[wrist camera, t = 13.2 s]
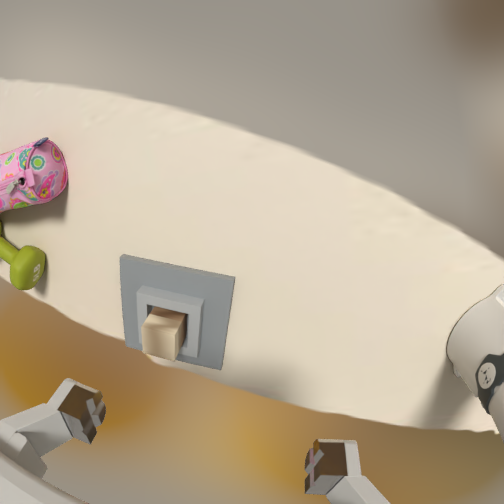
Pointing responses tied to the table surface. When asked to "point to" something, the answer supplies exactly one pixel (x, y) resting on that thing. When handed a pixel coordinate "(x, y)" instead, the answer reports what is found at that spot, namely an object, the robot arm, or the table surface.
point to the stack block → (164, 333)
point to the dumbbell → (23, 264)
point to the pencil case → (31, 175)
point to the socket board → (178, 305)
